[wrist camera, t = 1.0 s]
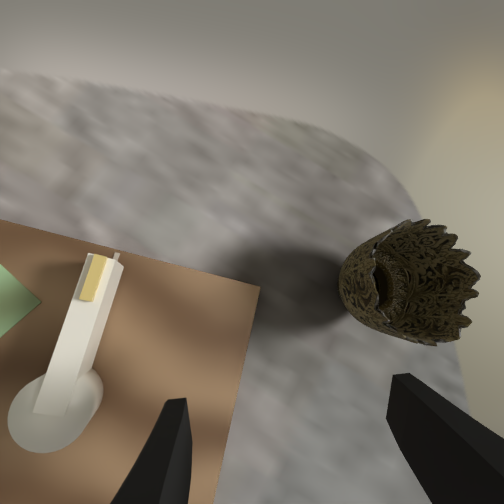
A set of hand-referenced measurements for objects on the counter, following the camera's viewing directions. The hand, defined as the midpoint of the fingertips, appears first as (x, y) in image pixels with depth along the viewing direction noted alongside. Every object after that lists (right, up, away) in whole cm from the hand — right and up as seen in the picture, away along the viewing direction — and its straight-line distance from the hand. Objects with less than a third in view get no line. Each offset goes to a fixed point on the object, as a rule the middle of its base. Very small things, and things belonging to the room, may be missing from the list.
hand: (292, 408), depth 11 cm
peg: (-11, 0, +8) cm, 14 cm away
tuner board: (-12, -3, +9) cm, 16 cm away
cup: (+7, +2, +15) cm, 17 cm away
